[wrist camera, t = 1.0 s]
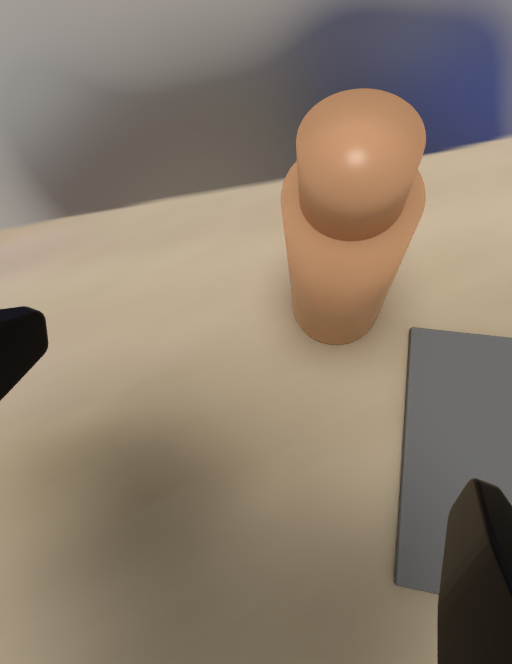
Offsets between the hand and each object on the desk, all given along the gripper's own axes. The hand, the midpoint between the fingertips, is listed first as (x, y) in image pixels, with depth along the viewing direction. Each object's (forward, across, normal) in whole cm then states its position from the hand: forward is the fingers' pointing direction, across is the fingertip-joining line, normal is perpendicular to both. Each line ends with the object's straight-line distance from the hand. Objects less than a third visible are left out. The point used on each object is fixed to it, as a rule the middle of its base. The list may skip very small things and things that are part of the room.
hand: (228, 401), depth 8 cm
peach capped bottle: (+15, 0, +5) cm, 16 cm away
